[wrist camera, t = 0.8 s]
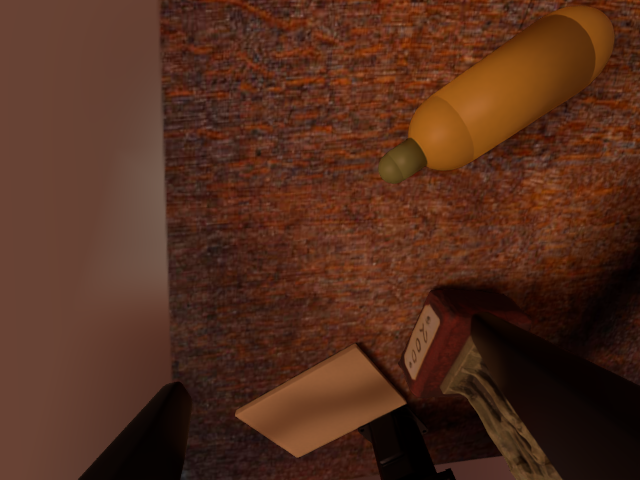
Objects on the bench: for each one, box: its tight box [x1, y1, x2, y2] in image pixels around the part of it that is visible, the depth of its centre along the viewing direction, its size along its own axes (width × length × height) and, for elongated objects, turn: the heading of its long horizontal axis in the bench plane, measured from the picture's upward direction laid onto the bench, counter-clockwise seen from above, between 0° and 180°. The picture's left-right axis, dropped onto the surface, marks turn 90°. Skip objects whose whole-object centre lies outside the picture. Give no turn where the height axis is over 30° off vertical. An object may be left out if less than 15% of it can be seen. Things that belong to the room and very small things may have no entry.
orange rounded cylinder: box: [378, 6, 615, 184], centre depth 16 cm, size 14×5×5 cm, turn 124°
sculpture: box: [398, 289, 563, 480], centre depth 20 cm, size 10×8×15 cm
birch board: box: [235, 343, 407, 458], centre depth 30 cm, size 11×15×1 cm
